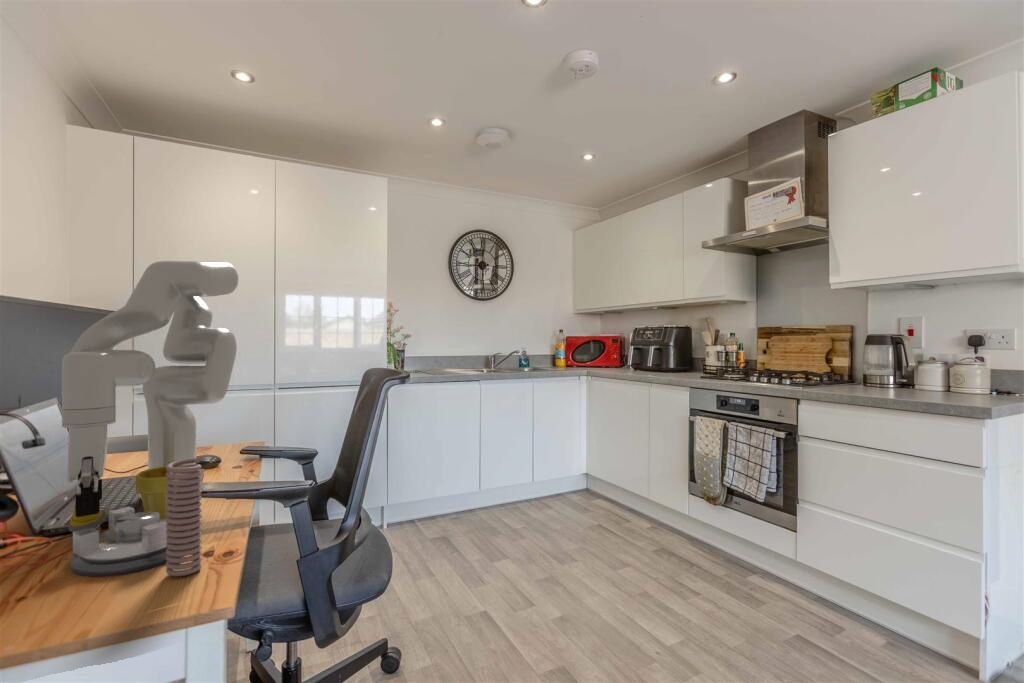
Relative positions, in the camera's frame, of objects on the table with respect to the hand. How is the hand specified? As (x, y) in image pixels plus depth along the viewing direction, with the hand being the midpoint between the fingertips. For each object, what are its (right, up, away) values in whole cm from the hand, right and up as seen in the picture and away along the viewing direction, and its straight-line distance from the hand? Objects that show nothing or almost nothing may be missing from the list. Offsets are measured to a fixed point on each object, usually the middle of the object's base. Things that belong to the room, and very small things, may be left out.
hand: (89, 507), depth 87 cm
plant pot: (+7, -6, +11) cm, 14 cm away
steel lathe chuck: (+14, -4, -6) cm, 16 cm away
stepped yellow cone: (0, -6, +1) cm, 6 cm away
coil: (+27, -6, -13) cm, 31 cm away
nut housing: (+14, -6, -6) cm, 17 cm away
